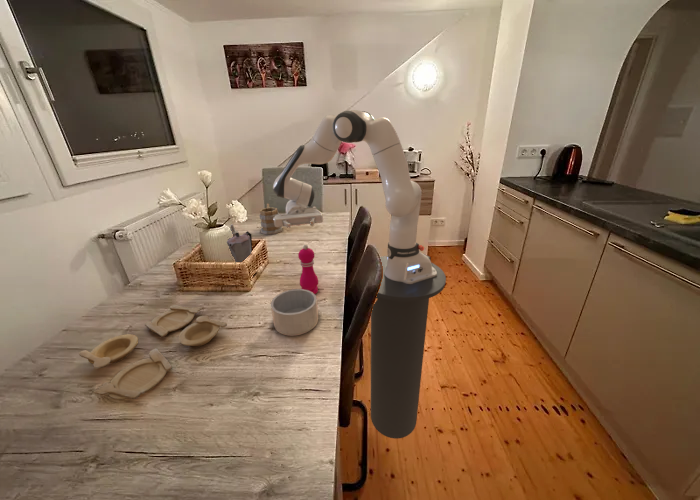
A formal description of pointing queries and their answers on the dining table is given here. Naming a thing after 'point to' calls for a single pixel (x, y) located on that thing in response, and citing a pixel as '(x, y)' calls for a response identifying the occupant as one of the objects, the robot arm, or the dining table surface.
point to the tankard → (269, 220)
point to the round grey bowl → (294, 312)
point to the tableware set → (154, 368)
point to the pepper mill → (308, 270)
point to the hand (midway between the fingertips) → (300, 224)
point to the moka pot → (240, 246)
